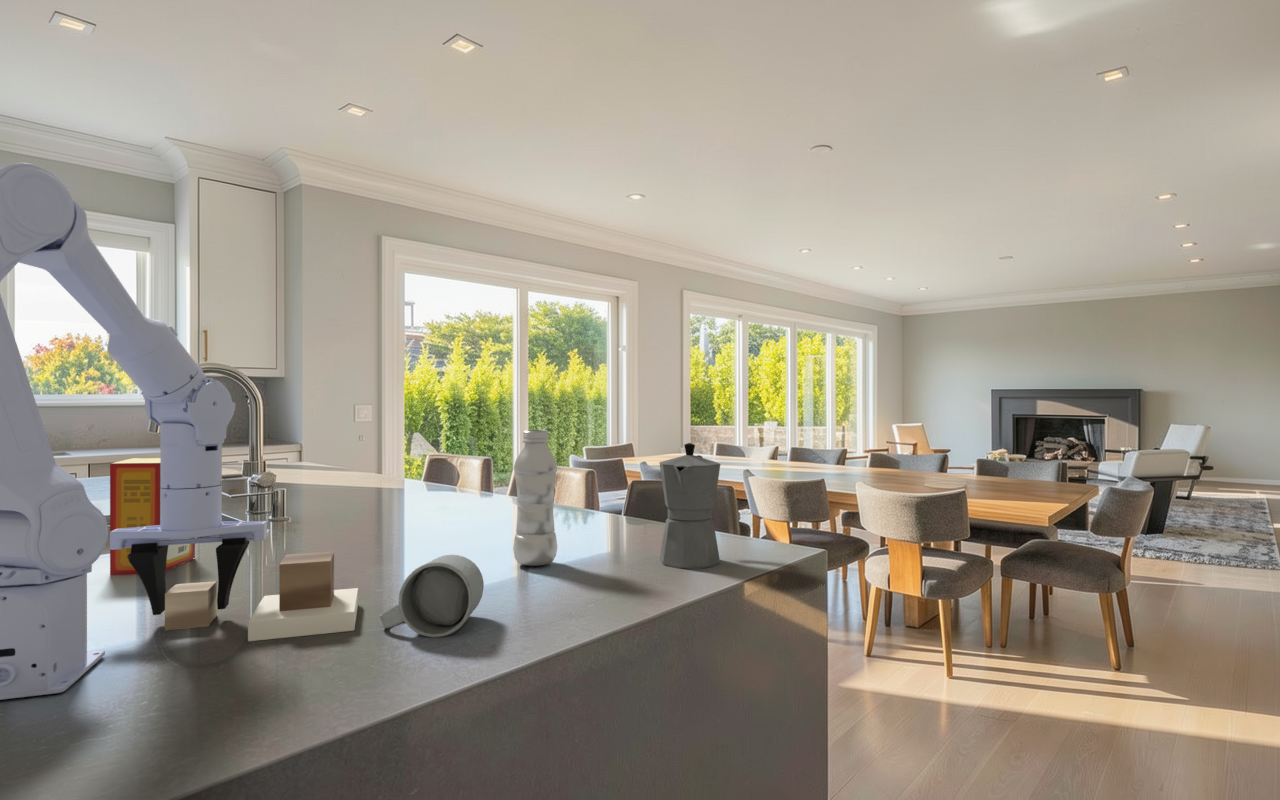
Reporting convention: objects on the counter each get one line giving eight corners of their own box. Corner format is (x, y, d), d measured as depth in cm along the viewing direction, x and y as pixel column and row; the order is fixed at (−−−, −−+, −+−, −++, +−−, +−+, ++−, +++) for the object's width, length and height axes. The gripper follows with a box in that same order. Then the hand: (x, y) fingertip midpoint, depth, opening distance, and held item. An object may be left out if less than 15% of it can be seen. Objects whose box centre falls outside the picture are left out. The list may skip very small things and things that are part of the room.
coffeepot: (712, 574, 99) (712, 446, 99) (647, 570, 102) (648, 445, 102) (729, 551, 114) (729, 440, 114) (672, 548, 116) (672, 439, 116)
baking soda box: (149, 559, 108) (149, 455, 108) (194, 558, 109) (194, 455, 109) (110, 575, 99) (110, 460, 99) (159, 573, 99) (159, 460, 99)
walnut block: (330, 606, 77) (330, 560, 77) (279, 611, 75) (279, 564, 75) (334, 594, 81) (334, 551, 81) (286, 598, 80) (286, 554, 80)
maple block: (207, 627, 76) (207, 590, 76) (164, 631, 75) (164, 593, 75) (216, 616, 80) (216, 581, 80) (175, 619, 79) (176, 584, 79)
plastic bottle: (505, 568, 102) (505, 431, 102) (525, 558, 109) (525, 429, 109) (545, 571, 100) (545, 431, 100) (564, 561, 107) (564, 429, 107)
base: (354, 630, 75) (354, 611, 75) (248, 641, 71) (248, 621, 71) (358, 604, 84) (358, 587, 84) (264, 613, 81) (264, 595, 81)
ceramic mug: (487, 613, 81) (486, 546, 81) (472, 637, 73) (471, 563, 73) (394, 616, 81) (393, 548, 81) (368, 640, 72) (367, 565, 72)
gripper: (270, 479, 84) (270, 593, 84) (126, 484, 79) (126, 605, 79) (260, 486, 77) (260, 610, 77) (102, 492, 72) (102, 624, 72)
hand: (191, 609), depth 78 cm, fingers open, 5 cm apart
